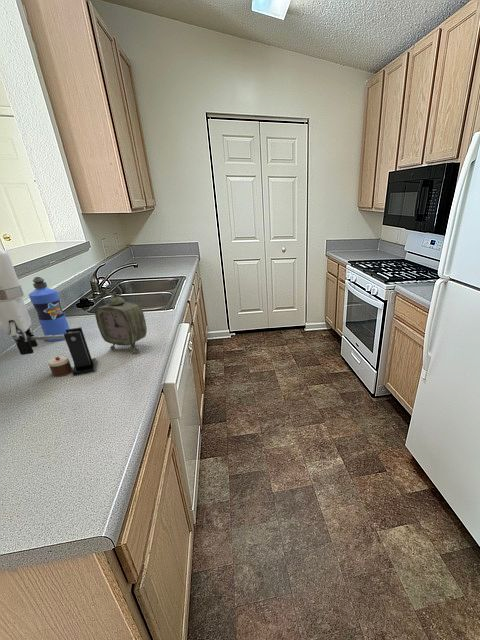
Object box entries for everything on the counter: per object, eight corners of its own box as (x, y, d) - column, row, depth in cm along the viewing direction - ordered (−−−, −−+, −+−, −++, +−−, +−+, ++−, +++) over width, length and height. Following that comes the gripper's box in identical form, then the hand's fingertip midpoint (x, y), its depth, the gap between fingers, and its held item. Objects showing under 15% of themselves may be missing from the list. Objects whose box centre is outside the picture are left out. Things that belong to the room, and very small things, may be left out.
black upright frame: (73, 375, 109) (59, 336, 103) (77, 364, 116) (64, 327, 110) (94, 371, 111) (81, 333, 105) (96, 361, 119) (84, 324, 112)
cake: (51, 377, 108) (45, 362, 105) (54, 370, 113) (48, 355, 110) (71, 374, 110) (65, 358, 108) (73, 367, 115) (68, 352, 112)
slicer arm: (20, 345, 101) (18, 337, 100) (24, 339, 105) (22, 332, 104) (79, 341, 108) (78, 334, 107) (80, 336, 112) (79, 329, 111)
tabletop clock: (105, 351, 126) (85, 286, 115) (122, 342, 134) (105, 280, 123) (137, 355, 122) (120, 288, 111) (153, 345, 130) (138, 282, 119)
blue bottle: (76, 334, 141) (56, 276, 130) (53, 342, 134) (30, 281, 123) (63, 331, 145) (43, 274, 134) (41, 338, 138) (17, 278, 127)
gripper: (-1, 288, 102) (22, 342, 110) (-20, 302, 88) (7, 363, 96) (29, 286, 105) (48, 339, 113) (14, 299, 91) (38, 358, 99)
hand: (29, 349), depth 105 cm, fingers closed on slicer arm, 5 cm apart
